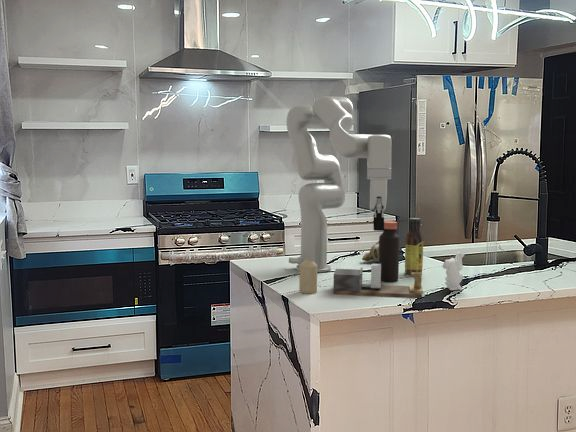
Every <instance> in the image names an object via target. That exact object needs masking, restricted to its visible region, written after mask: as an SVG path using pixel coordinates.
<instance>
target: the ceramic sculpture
mask: <svg viewBox="0 0 576 432" xmlns="http://www.w3.org/2000/svg"><path fill="white" fill-rule="evenodd" d="M361 260H362V261H365V262H370V261H372V262H374V263H376V264H379V240H378V241H377V242H376V243H375V244H374V245H372V246H371V247H370V250H369V252H366V253H365V254H364V255H363V257H362V258H361Z"/></svg>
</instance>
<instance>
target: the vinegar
mask: <svg viewBox="0 0 576 432" xmlns="http://www.w3.org/2000/svg"><path fill="white" fill-rule="evenodd" d="M397 231H398V222H397V221H391V220H390V221H389V220H384V230H383V231H382V233H381V234H380V235H379V238H378V239H379V240H378V241H379V263H378V264H381V282H385V283H393V282H394V283H395V282H398V281H399V268H400V267H399V266H400V264H399V263H400V240H401V239H400V236H399V234H397Z"/></svg>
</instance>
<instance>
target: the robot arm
mask: <svg viewBox="0 0 576 432" xmlns="http://www.w3.org/2000/svg"><path fill="white" fill-rule="evenodd" d="M353 114H354V106H353V102H352V101H351V100H350V99H349V98H348V97H346V96H345V97H344V96H331V95H323V96H320V97H318V98H316V99H315V100H314V101H313V103H312V104H299V105H294V106H292V107H291V108H290V109H289V111H288V112H287V116H286V121H285V122H286V129H287V133H288V136H289V138H290V141H291V143H292V146H293V147H292V148H293V152H294V158H295V162H296V168H297V173H298V175H299V178H300V179H301V180H303V181H323V182H311V183H306V184H304V185H303V186H301V187H300V189H299V190H298V203H299V210H300V256H297V257H288V263H289V264H297V265H296V267H295V268H296V270H297V271H299V272H300V264H301V263H303V262H304V261H305V260H310V261H314V262H315V263H316V264H317V273H326V272H330V271H331V270H332V268H331V265H329V264H327V261H328V260H327V259H328V258H327V257H328V253H327V251H328V220H327V217H326V215H325V213H324V212H323V210H329V209H331V210H332V209H337V208H338V209H339V208H340V207H342V206H343V205H344V203H345V201H346V192H345V191H346V190H345V185H344V180H343V175H342V170H341V165H340V162H339V161H338V159H337V158H336V157H335V156H334V155H332V154H325V153H324V154H320V153H319V150H318V144H317V142H316V140H315V138H314V136H313V135H312V134H311V133H310V132H309V131H308V129H313V130H314V129H315V130H317V129H318V130H321V129H322V130H326V129H327V130H329V139H330V140H329V141H330V144H331V145H332V147H333V148H334V149H335V151H336V152H337V153H338V154H339V155H341V156H343V157H344V158H347V159H366V160H367V163H366V165H367V167H366V170H367V171H366V180H370V182H369V211H371V212H372V211H373V210H374V212H373V213H374V214H373V232H375V231H377V232H378V231H382V232H383V230H384V221H385V217H384V211H386V208H387V202H388V201H387V198H388V180H392V153H393V152H392V144H393V143H392V141H393V140H392V137H391V135H388V134H365V133H363V134H362V133H361V134H357V133H356V134H355V133H354V134H350V133H349V132H350V131H351V129H352V128H353V125H354V119H353Z"/></svg>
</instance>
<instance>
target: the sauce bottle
mask: <svg viewBox="0 0 576 432" xmlns="http://www.w3.org/2000/svg"><path fill="white" fill-rule="evenodd" d="M408 223H409V231H408V233H407V234H406V236H405V247H404V248H405V249H404V251H405V252H404V253H405V254H404V272H405V274H407V275H411V274H412V272H414V273H416V272H419V273H422V274H423V261H424V260H423V259H424V239H423V235H422V233H421V232H422V231H421V223H422V219H421V218H418V217H410V218H409V219H408Z"/></svg>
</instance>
